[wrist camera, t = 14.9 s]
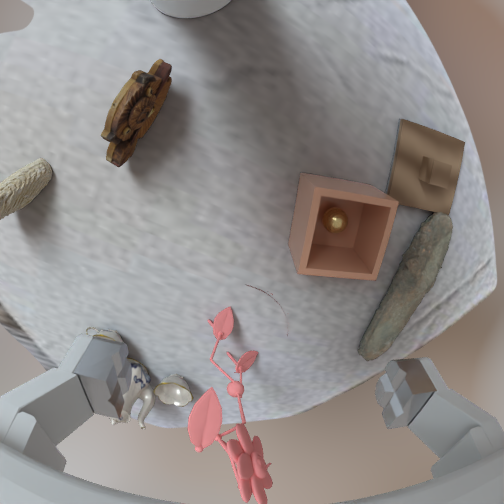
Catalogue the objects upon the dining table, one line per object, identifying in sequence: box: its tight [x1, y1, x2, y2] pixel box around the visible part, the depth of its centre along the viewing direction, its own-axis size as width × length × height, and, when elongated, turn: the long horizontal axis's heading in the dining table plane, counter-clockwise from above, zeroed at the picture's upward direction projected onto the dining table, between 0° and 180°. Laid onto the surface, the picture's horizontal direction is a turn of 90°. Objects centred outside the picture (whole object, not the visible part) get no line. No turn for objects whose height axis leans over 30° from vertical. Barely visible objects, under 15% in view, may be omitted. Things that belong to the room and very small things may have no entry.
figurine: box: [188, 285, 288, 504], centre depth 41 cm, size 15×26×35 cm, turn 20°
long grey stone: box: [358, 212, 453, 361], centre depth 53 cm, size 35×5×10 cm
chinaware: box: [86, 327, 193, 429], centre depth 54 cm, size 28×17×17 cm, turn 50°
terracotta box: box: [288, 172, 399, 281], centre depth 43 cm, size 12×12×10 cm
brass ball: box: [322, 207, 348, 234], centre depth 45 cm, size 4×4×4 cm
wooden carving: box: [101, 59, 172, 167], centre depth 35 cm, size 16×5×10 cm, turn 153°
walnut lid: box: [387, 119, 465, 215], centre depth 41 cm, size 14×14×4 cm
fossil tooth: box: [0, 158, 52, 220], centre depth 38 cm, size 12×6×15 cm
